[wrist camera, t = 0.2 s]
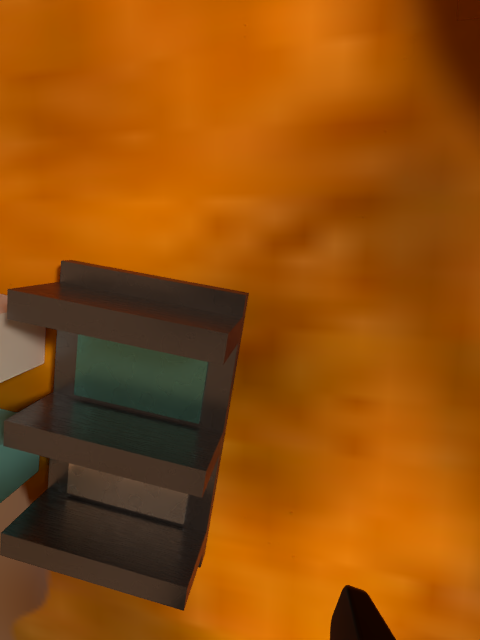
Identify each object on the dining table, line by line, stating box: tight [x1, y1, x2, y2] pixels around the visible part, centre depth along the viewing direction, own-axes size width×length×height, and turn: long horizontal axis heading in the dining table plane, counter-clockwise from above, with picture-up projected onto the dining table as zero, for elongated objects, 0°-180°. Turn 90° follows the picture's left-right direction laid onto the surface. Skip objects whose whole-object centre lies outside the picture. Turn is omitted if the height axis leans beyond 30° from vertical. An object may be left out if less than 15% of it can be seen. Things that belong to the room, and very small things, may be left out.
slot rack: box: [0, 260, 249, 611], centre depth 21 cm, size 18×11×5 cm, turn 171°
